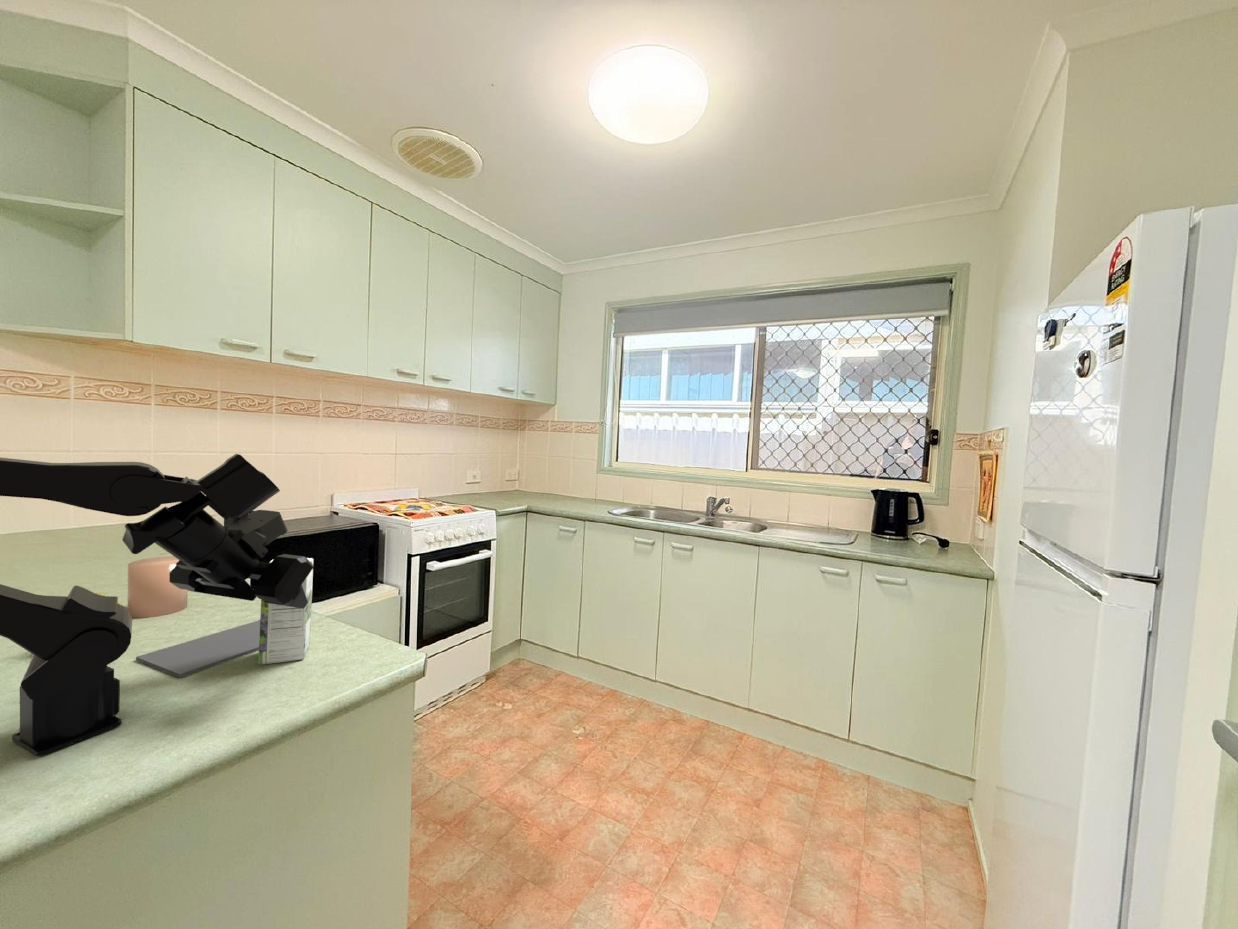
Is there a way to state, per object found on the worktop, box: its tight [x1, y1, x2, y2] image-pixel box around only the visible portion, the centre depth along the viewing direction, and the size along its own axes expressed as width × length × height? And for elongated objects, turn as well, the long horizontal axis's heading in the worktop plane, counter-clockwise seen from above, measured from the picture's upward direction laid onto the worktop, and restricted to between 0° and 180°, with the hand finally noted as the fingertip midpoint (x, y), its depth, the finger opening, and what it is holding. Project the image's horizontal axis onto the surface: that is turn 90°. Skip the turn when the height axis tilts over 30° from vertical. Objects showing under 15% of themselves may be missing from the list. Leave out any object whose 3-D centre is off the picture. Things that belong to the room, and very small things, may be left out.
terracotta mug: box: [127, 556, 191, 619], centre depth 90 cm, size 10×8×9 cm
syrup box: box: [257, 557, 314, 665], centre depth 74 cm, size 6×6×14 cm
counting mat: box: [135, 619, 260, 679], centre depth 76 cm, size 18×11×1 cm, turn 158°
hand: (279, 601), depth 72 cm, fingers open, 9 cm apart
